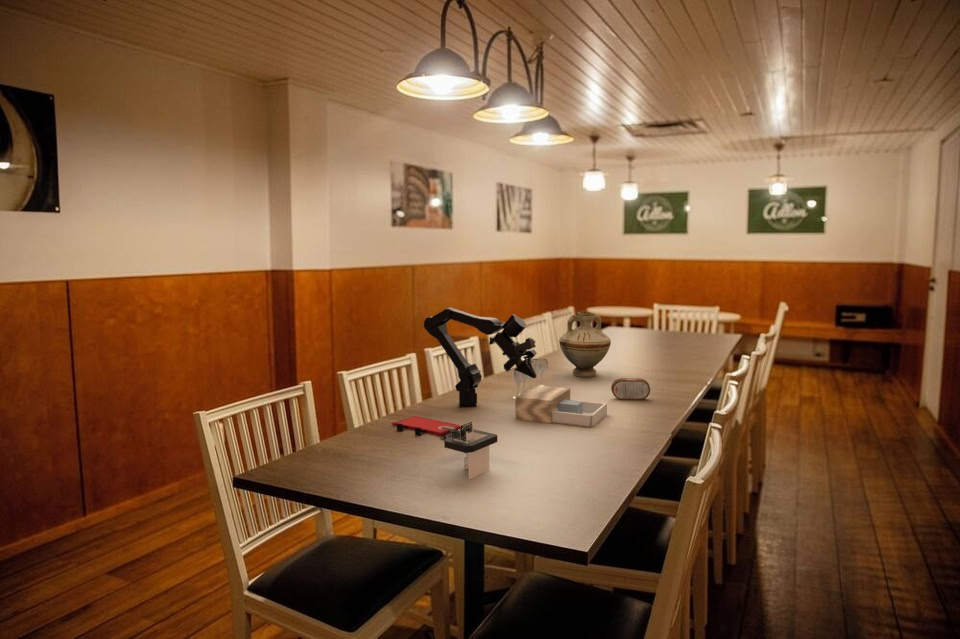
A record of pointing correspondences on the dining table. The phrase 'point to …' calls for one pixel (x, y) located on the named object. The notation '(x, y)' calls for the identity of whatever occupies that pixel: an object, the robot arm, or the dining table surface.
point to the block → (571, 406)
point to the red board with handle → (426, 426)
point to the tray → (582, 415)
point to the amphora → (584, 344)
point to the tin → (630, 389)
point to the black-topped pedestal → (472, 447)
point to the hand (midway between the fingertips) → (535, 377)
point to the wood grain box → (540, 403)
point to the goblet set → (538, 366)
